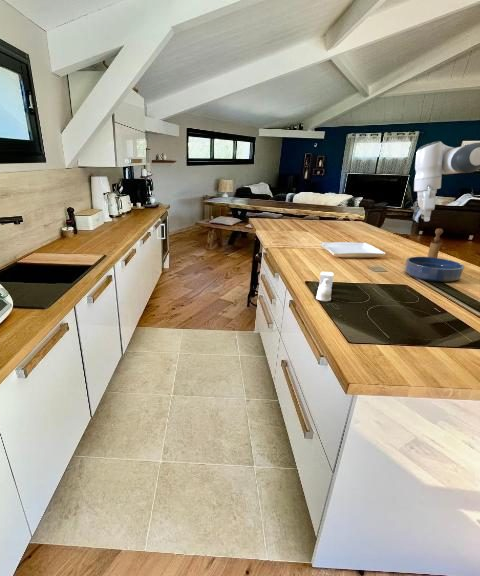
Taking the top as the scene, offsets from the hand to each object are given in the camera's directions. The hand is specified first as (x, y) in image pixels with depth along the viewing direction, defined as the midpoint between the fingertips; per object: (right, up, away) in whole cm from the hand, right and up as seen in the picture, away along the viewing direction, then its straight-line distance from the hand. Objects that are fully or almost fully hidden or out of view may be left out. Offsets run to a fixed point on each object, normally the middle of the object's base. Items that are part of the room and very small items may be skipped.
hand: (425, 219), depth 131 cm
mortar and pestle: (+22, -17, +26) cm, 38 cm away
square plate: (-7, -9, +49) cm, 50 cm away
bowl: (+10, -23, +10) cm, 27 cm away
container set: (-45, -30, -6) cm, 55 cm away
